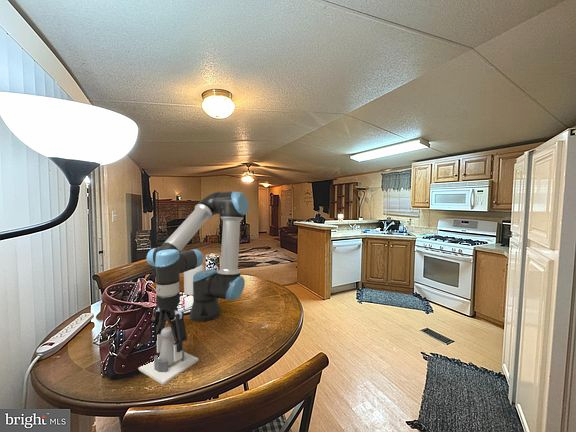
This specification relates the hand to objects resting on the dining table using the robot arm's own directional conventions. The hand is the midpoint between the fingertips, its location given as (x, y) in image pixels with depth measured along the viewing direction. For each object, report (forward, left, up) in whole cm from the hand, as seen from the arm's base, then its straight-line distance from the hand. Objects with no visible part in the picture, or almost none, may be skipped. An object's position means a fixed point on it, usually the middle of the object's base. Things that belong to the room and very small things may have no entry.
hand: (169, 355), depth 86 cm
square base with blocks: (0, 0, -4) cm, 4 cm away
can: (-52, +53, -4) cm, 74 cm away
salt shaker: (0, 0, -3) cm, 3 cm away
